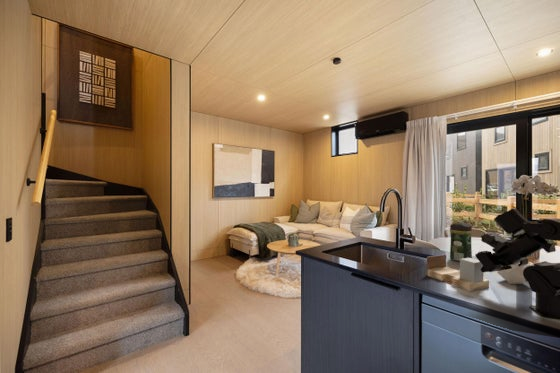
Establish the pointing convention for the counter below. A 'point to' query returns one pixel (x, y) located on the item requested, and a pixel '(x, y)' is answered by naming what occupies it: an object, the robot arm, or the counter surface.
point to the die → (513, 275)
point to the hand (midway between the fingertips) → (481, 270)
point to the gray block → (471, 270)
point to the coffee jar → (460, 241)
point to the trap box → (451, 274)
